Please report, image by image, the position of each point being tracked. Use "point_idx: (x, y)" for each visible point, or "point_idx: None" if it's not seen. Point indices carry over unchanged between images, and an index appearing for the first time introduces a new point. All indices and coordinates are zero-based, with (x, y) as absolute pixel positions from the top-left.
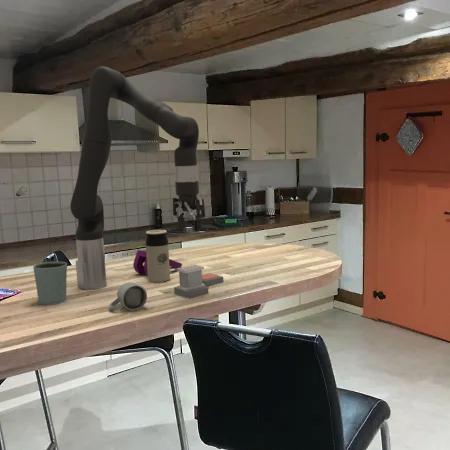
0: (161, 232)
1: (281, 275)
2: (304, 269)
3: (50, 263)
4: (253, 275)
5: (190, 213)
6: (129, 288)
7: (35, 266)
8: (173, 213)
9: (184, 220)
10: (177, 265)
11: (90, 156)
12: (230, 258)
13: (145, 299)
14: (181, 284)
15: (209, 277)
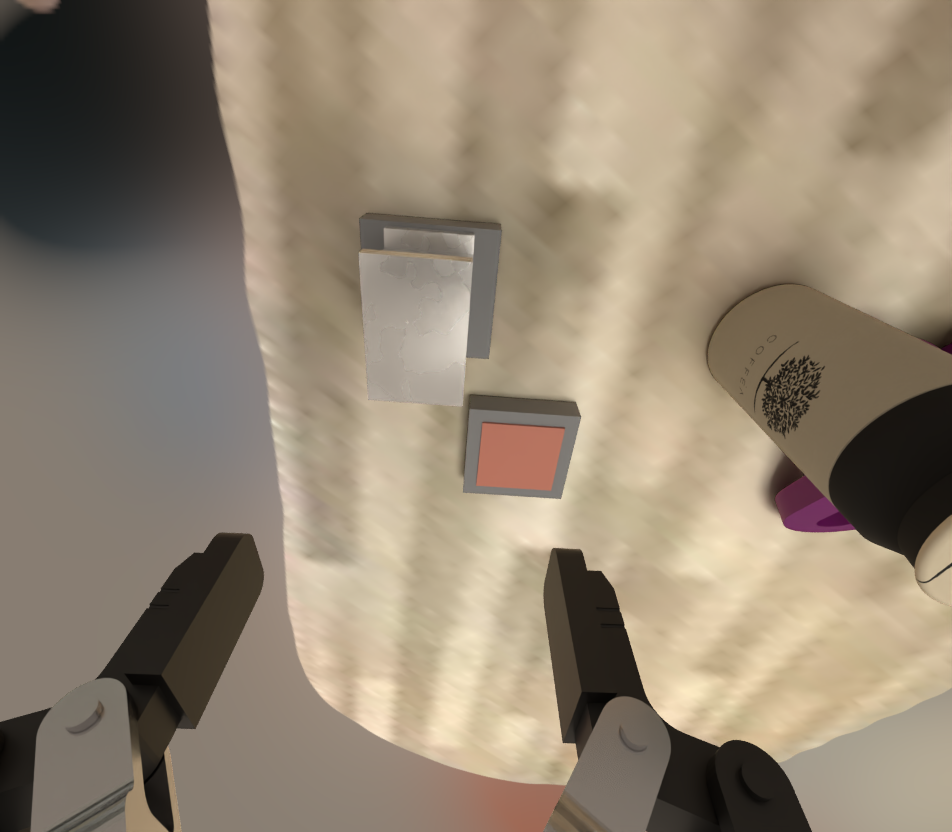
0: (946, 538)
1: (377, 613)
2: (381, 672)
3: None
4: (449, 578)
5: (95, 817)
6: None
7: None
8: (768, 786)
9: (557, 692)
10: (786, 498)
11: None
12: (685, 662)
13: None
14: (454, 255)
15: (494, 452)
